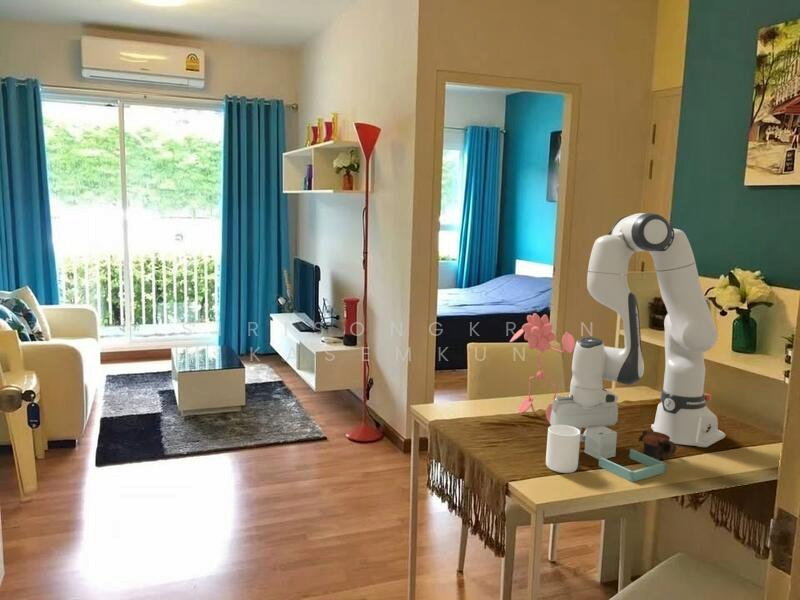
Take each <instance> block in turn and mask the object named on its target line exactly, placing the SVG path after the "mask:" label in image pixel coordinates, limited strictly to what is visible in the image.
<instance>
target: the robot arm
mask: <svg viewBox="0 0 800 600" xmlns="http://www.w3.org/2000/svg"><path fill="white" fill-rule="evenodd" d="M642 252H648V253H649V254H650V256H651V258H652V260H653V264H654V270H655V274H656V279H657V283H658V288H659V293H660V296H661V298H662V300H663V303H664V305H665V309H666V311H667V313H666V315H665V318H664V320H663V325H664V355H665V358H664V359H665V369H664V377H663V378H664V379H663V386H662V387H663V388H662V389H661V392H660V403H658V405H657V409H656V413H655V419H654V423H652V424H650V425H651V426H650V428H651V429H652V431H654V432H659V433H663V434H666V435H668V436H669V437H670V439H669V441H671V442H673V443H675V445H683V446H684V445H685V446H696V447H700V448H708V447H709V446H712V445H714V444H715V443H717V442H718V441H720V440H723V439H725V438H726V432H723V431H721V430H720V429H718V425H719V424H718V423H719V422H718V421H719V420H718V419H719V418H718V417H717V415H716V414H715V413H713V411H711V410H710V409H709V408H708V407H707V403H706V401H708V402H710V401H711V400H712V394H710V393H706V392H704V387H705V377H706V370H707V369H706V365H705V359H704V352H707V351H709V350H711V349H712V348H713V347H714V346H715V345H716V343H717V341H718V337H719V334H718V331H717V327H716V324H715V323H714V319H713V317H712V313H711V311H710V308H709V305H708V303H707V299H706V297H705V294H704V292H703V289H702V286H701V281H700V278H699V277H700V276H699V272H698V268H697V264H696V260H695V259H696V258H695V255H694V252H693V249H692V246H691V243H690V241H689V239H688V237H687V235H686V233H685V232H684V231H683V230H682V229H678V228H673V227H672V226H671V224H670V223H669V222H668V220H667V219H666V218H665V217H663V216H662V215H660V214H658V213H654V212H645V213H644V212H639V213H635V214H634V213H633V214H632V215H625V216H623V217H620V218H619V219H617V220H616V222H615V223H614V224H613V225H612V227H611V228H610V231H609V233H608V234H605V235H602V236H599V237H598V238H597V239H595V241H594V243H593V245H592V248H591V252H590V257H589V261H588V265H587V266H588V268H587V275H586V287H587V288H586V289H587V291H588V293H589V295H590V296H591V297H592V298H593V299H594V300H595V301H597V302H598V303H599V304H600V305H603V306H605V307H607V308H608V309H611V310H612V311H614V312H615V313H616V314H618V315H619V317H620V318H621V320H622V323H623V338H624V339H623V340H624V348H620V347H619V348H618V347H612V346H607V345H605V344H604V341H603V340H602V339H600V338H597V337H594V336H593V337H592V336H586V337H585V336H584V337H581V338H579V339H577V340H576V341H575V347H574V349H573V354H572V364H571V371H572V376H571V380H570V385H569V395H564V396H562V395H561V396H560V395H558V396H557V397H555V399H554V398H553V399H554V400H552V402H551V404H552V411H551V416H550V423H549V424H550V426H552V425H567V426H572V427H575V428H577V429H579V430H580V432H582V428H583V429H584V428H585V430H584V432H583V433H580V443H582V442H583V443H585V439H586V428H591V427H596V426H601V425H602V426H605V427H609V426H615V425H616V424H617V422H618V419H619V406H618V404H617V402H618V399H619V398H618V397H619V396H618V395H617V394H615V393H613V392H612V391H609V390H608V389H605V388H603V386H604V385H603V384H604V383H603V380H606V381H610V382H611V381H612V382H617V383H619V384H622V385H625V386H626V385H627V386H632V385H635V384H636V383H637V382H639V381H640V380H641V379H643V375H644V372H645V363H644V362H645V361H644V357H643V356H644V355H643V349H642V348H643V347H642V337H641V322H640V311H639V304H638V303H639V302H638V298H637V296H636V295H635V293H632V292H631V290H630V287H629V285H628V273H629V272H628V271H629V263H630V260H631V257H632V256H633V254H635V253H642Z"/></svg>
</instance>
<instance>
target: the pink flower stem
mask: <svg viewBox="0 0 800 600" xmlns="http://www.w3.org/2000/svg"><path fill="white" fill-rule="evenodd" d="M549 319H550V318H549V317H548V315H547V314H543V315H542V316H541V317H540V316H539V315H538V314H537V313H536V312H534V313H533V314H532V315H531V314H528V315H527V316H526V320H527V321H526V322H527V323H524V324H523V325H522V326H521V329H519V330H518V331H517V332H516V333H515V334H514V335H513V336H512V337H511V339H510V340H509V343H513V342H515V341H516V340H517V339H518V338H520V337H521V336H522V335H523V338H524V340H525V341H527V344H528V348H529V349H530V350H534V349H535V350H538V351H539V352H538V353H537V354H536V359H537V360H536V361H537V365H538V369H539V371H537V372H536V374H535V375H534V376H530V377H529V379H528V396H527V397H526V398H525V399H523V401H522V402H521V403H520V405H519V406H518V413H517V414H518V415H520V414H523V413H525V412H526V411H527V410H529V409H530V408H531V410H532V413H533V414H535V412H536V411H535V409H534V408H535V407H534V405H533V401H534V397H533V396H531V379H532V378H536V377H537V379H538V380H545V381H547V382H549V383H550V384H552V385H554V387H555V386H556V388H555V391H554V396H553V400H554V399H556V395H557V391H558V389H559V388H558V385H557V384H555V383H554V382H553V381H550V380H549V379H548V378H546V373H545V372H544V371H543V370H541V365H540V359H539V356H540V355H542V354H543V353H544V352H545V351H547V350H552V351H554V352H558V353H560V354H564V352H565V351H566V352H567V353H569V354H572V352H574V349H575V345H576V341H575V338H574V336H573V335H572V334H571V333H569V331H566V332H564V334H563V335H562V338H561V345H562V350H560V349H557V348H553V347H551V346H552V345H551V343H550V342H553V341H554V340H556V338H557V335H556V334H555V333H554V332H552V331H553V325H552V323H550V321H549ZM553 400H552V401H553ZM551 411H552V403H551V404H548V406H547V407H546V410H545V417H546V420H547V421H548V423H549V424H550V416H551ZM511 423H512V424H514V425H516V426H517V427H521V428H525V429H527V427H526V426H522V425H519V424H516V423H514V422H513V421H511ZM528 429H530V430H532V428H530V427H528ZM533 431H538V429H535V428H533ZM541 431H545V432H546V431H547V432H548V429H541Z"/></svg>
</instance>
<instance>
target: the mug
mask: <svg viewBox="0 0 800 600" xmlns="http://www.w3.org/2000/svg"><path fill="white" fill-rule="evenodd" d="M547 430H548V431H547V439H546V453H545V465H546V467H547V468H548V470H551V471H552V472H557V473H560V474H571V473H574V472H576V470H577V469H578V468H579V456H580V443H581V442H580V433H581V432H582V431H580V430H579V429H577V428H575V427H572V426H567V425H550V426H549V427H547ZM581 434H582V433H581Z"/></svg>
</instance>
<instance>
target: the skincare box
mask: <svg viewBox="0 0 800 600" xmlns="http://www.w3.org/2000/svg"><path fill="white" fill-rule="evenodd" d="M585 430H586V439H585V442H584V453H585V454H586V455H589V456H591V457H592V458H594V459H597V460H598V461H599V457H602V458H605V459H611V458H614V457H616V453H617V452H616V451H617V450H616V449H617V438H618V431H615V430H613V429H611V428H608V426H602V425H601V426H596V427H591V428H585Z"/></svg>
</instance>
